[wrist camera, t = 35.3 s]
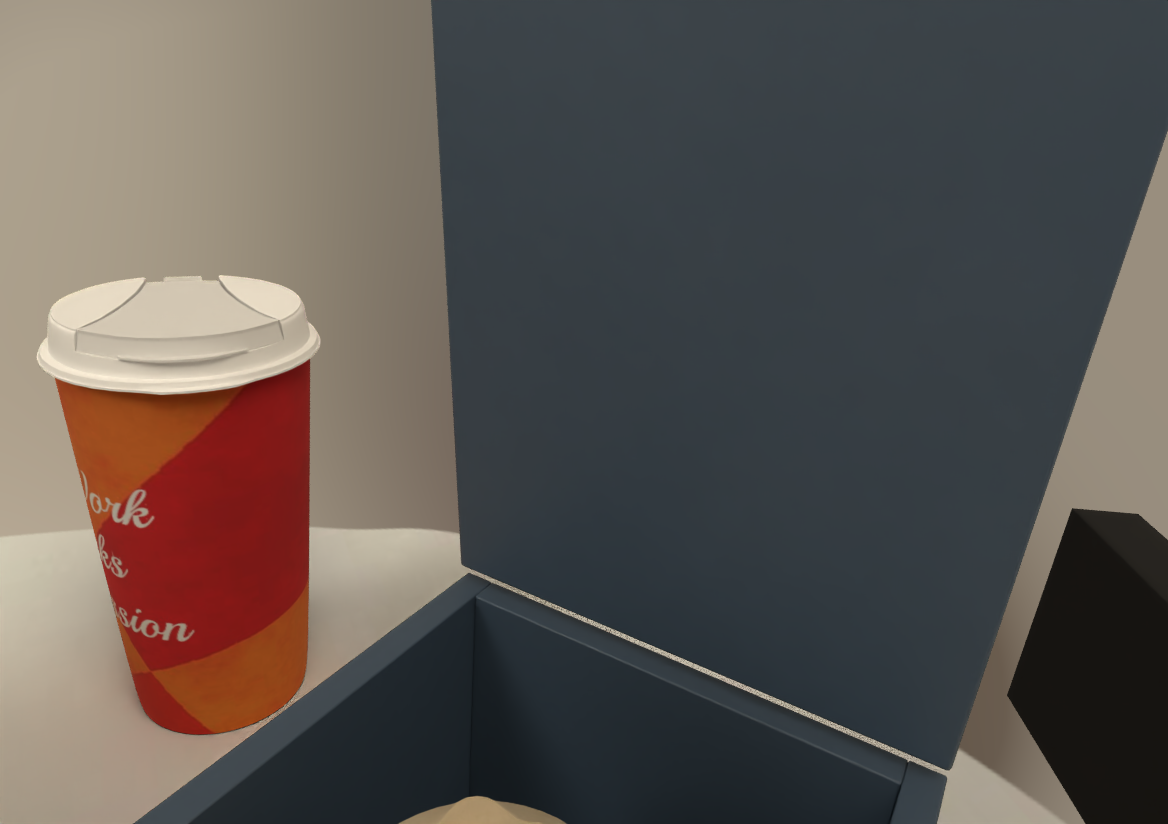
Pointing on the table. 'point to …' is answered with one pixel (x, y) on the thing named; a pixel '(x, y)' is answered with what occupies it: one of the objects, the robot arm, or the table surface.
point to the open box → (543, 736)
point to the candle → (482, 813)
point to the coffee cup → (195, 483)
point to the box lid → (784, 317)
